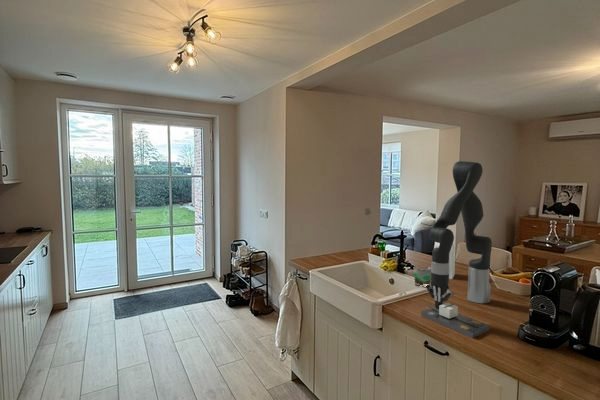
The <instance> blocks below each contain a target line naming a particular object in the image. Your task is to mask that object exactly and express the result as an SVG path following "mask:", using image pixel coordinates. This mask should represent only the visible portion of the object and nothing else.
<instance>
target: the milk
mask: <svg viewBox="0 0 600 400" xmlns="http://www.w3.org/2000/svg"><path fill="white" fill-rule="evenodd" d="M434 243H435V244H434V246H433V249H434V248H439V245H440V243H437V242H434ZM455 259H456V258H455V244H454V243H453V244H452V247H451V250H450V253H449V280H453V279H454V277H455V273H456V272H455V271H456V270H455V268H456V267H455Z"/></svg>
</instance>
